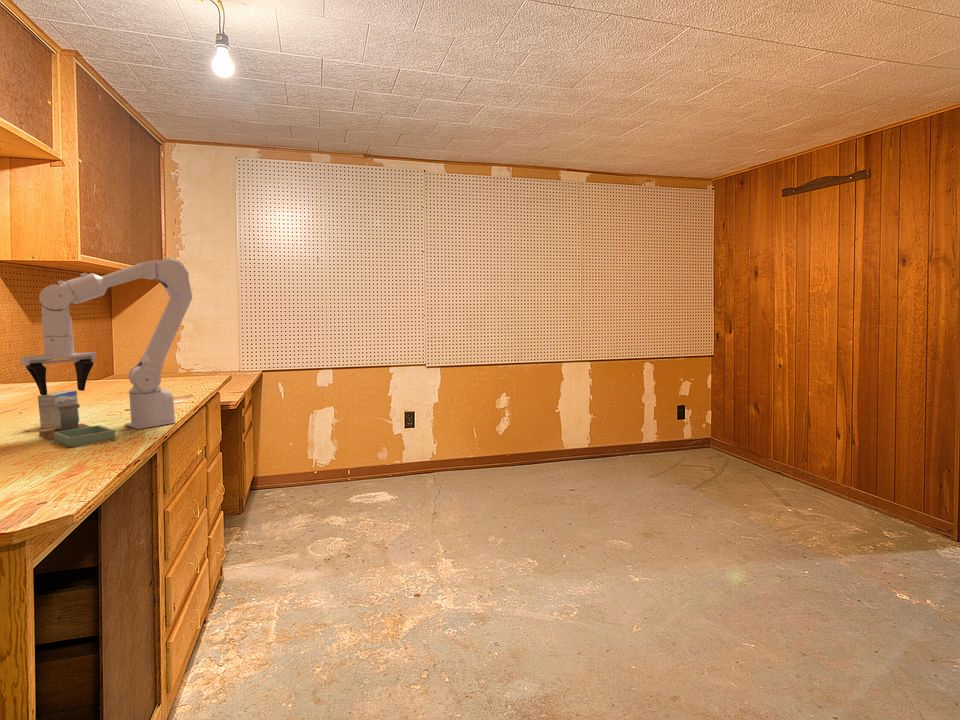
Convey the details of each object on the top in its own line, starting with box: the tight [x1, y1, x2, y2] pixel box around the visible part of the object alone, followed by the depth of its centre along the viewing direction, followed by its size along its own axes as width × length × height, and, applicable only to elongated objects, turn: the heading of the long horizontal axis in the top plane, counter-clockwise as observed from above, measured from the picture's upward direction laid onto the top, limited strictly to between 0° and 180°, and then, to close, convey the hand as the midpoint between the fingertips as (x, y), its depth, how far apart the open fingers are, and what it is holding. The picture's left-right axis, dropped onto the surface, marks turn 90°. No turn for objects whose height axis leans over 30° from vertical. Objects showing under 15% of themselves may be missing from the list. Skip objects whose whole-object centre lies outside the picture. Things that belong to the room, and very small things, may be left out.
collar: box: [38, 423, 91, 441], centre depth 135 cm, size 9×9×1 cm
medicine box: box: [37, 389, 80, 429], centre depth 144 cm, size 8×4×9 cm, turn 179°
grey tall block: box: [52, 402, 81, 432], centre depth 134 cm, size 4×4×7 cm
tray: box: [53, 424, 116, 448], centre depth 128 cm, size 9×9×2 cm
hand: (63, 392), depth 133 cm, fingers open, 7 cm apart
